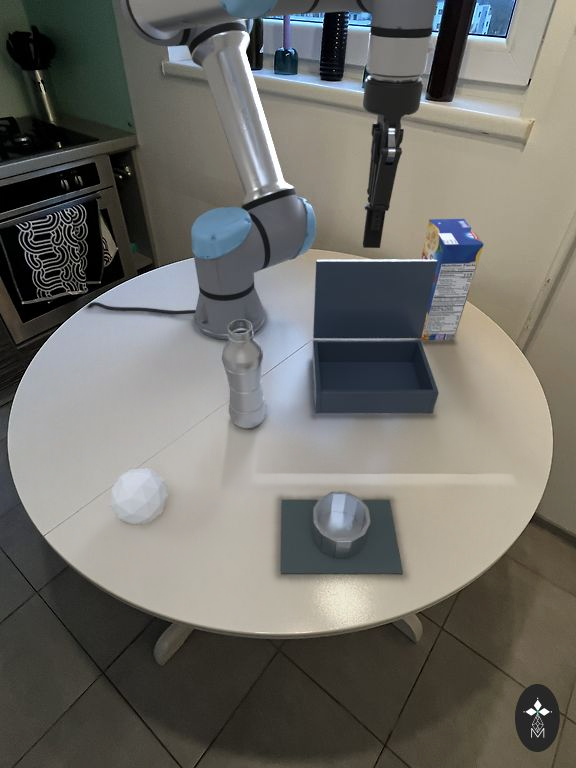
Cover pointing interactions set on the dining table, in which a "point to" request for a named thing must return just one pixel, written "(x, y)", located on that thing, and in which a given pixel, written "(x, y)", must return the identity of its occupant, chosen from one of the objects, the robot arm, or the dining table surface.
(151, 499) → the geometric ball
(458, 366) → the dining table surface
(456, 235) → the blue cereal box
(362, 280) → the chest lid
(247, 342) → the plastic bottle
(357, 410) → the box
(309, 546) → the mat
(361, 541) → the grey hollow cylinder
